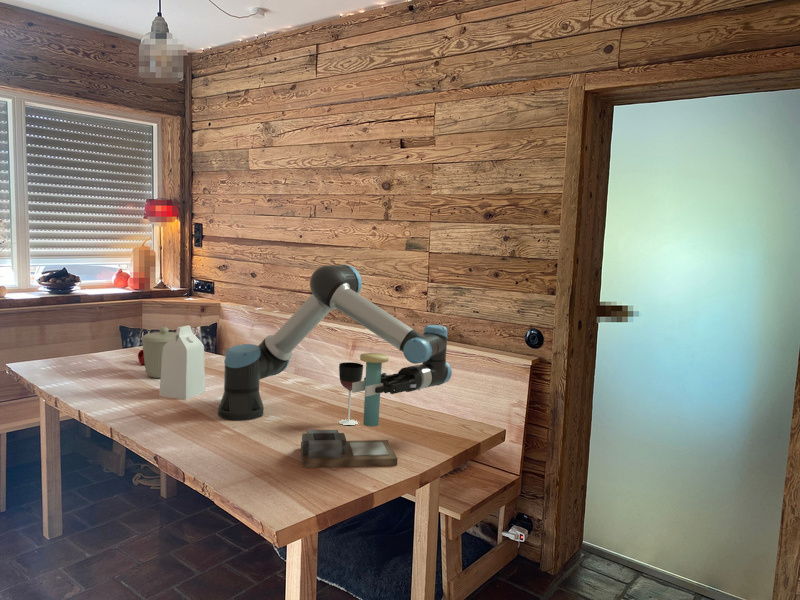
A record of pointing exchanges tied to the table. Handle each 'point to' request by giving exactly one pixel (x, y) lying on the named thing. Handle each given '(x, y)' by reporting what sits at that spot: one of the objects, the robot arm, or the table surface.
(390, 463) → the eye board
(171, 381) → the milk
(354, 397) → the table surface
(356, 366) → the wineglass
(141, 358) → the pomegranate
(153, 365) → the canister
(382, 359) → the disc-capped post
